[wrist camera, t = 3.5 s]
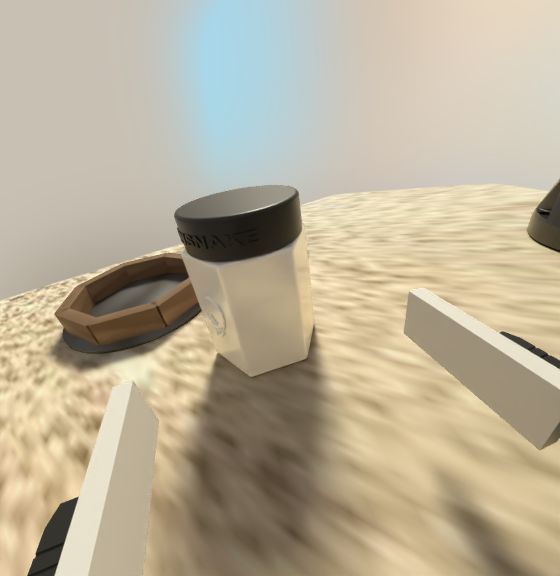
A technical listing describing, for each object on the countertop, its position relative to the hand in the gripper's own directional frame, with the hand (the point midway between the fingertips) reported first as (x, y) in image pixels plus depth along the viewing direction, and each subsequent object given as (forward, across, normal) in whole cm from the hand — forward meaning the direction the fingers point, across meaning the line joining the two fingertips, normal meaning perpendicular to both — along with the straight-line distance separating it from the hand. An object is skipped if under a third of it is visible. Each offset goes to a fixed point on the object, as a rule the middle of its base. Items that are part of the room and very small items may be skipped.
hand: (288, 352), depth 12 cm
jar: (+9, 0, -7) cm, 11 cm away
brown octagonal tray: (+22, -12, -6) cm, 26 cm away
